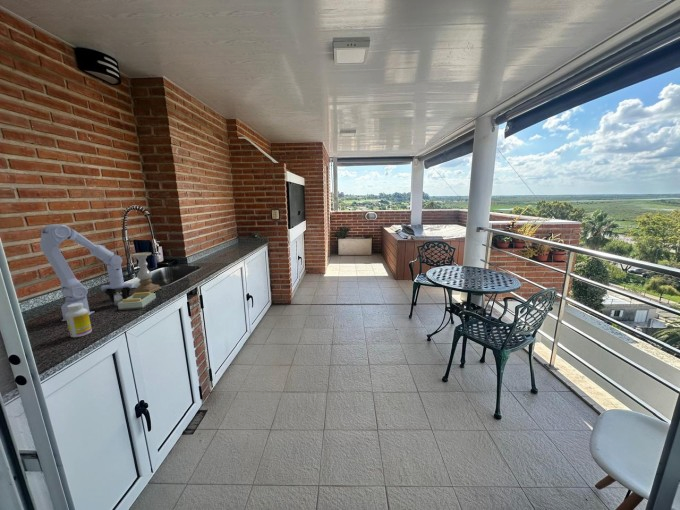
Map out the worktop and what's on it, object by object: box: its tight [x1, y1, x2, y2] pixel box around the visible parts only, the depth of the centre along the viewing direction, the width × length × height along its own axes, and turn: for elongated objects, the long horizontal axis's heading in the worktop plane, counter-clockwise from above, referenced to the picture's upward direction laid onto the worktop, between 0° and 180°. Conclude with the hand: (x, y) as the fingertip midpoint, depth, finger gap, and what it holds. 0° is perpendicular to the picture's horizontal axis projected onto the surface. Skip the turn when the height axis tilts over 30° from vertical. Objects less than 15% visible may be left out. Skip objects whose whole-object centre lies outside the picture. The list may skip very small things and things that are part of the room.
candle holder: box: [130, 251, 162, 296], centre depth 163 cm, size 11×11×24 cm
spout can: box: [113, 289, 124, 307], centre depth 146 cm, size 5×5×8 cm
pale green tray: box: [117, 292, 157, 311], centre depth 145 cm, size 14×11×5 cm
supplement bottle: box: [66, 303, 93, 338], centre depth 111 cm, size 7×7×13 cm
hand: (120, 301), depth 146 cm, fingers closed on spout can, 5 cm apart
